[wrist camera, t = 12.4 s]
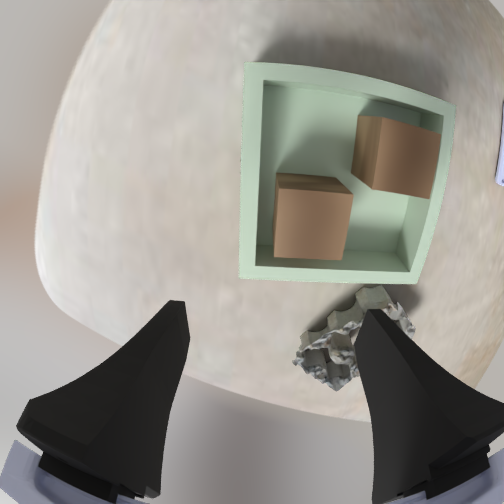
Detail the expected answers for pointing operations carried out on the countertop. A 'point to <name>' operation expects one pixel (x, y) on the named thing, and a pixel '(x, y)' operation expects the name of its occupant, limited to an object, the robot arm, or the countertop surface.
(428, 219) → the dish
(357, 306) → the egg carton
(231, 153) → the countertop surface
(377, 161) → the block
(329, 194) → the block
